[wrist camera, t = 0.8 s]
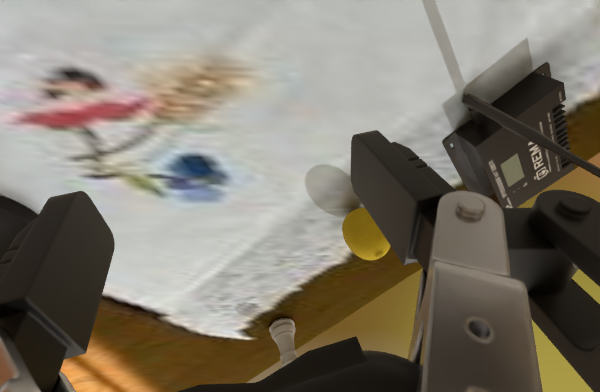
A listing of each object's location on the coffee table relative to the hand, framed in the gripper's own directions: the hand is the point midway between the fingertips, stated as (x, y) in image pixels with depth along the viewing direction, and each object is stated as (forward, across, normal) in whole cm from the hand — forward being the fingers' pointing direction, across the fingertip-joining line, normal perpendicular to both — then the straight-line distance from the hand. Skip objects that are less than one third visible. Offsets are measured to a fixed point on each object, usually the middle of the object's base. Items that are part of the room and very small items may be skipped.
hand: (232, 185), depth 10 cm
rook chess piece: (+22, -1, +45) cm, 50 cm away
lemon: (+21, -13, +23) cm, 34 cm away
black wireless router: (+21, -34, +16) cm, 43 cm away
